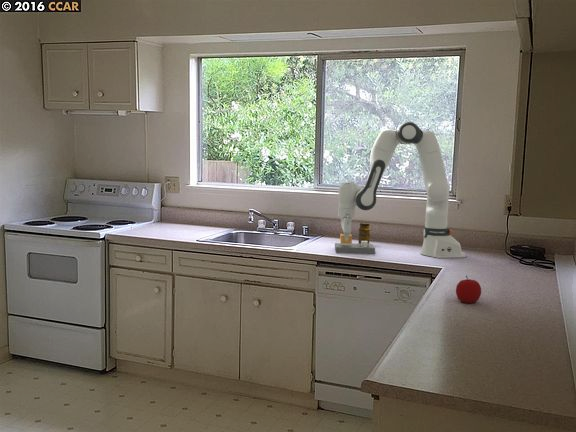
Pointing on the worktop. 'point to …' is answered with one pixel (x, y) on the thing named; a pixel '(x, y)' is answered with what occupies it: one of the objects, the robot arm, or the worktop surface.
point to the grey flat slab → (354, 248)
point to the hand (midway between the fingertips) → (346, 239)
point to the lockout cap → (342, 239)
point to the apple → (468, 291)
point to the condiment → (364, 232)
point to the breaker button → (364, 243)
